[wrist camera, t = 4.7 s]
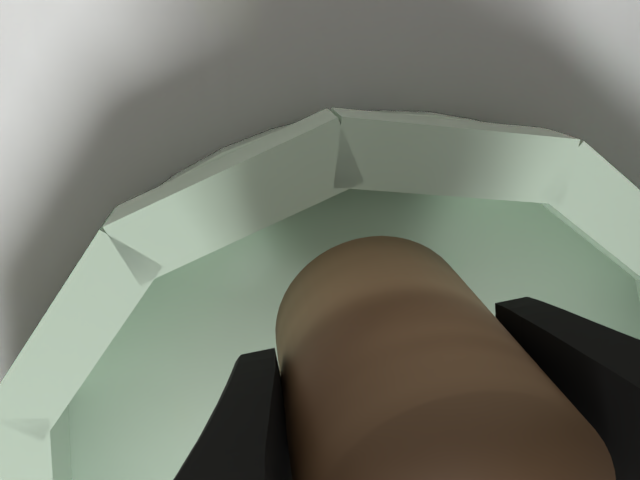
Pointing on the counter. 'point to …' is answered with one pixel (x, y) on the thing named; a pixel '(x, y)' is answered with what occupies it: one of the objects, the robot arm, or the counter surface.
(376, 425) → the bead
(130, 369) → the tray
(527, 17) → the counter surface
